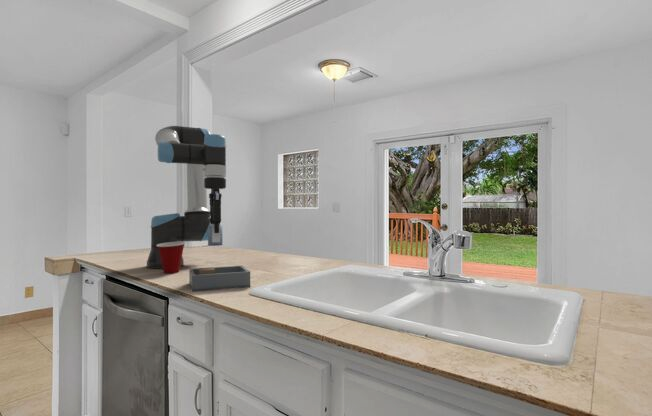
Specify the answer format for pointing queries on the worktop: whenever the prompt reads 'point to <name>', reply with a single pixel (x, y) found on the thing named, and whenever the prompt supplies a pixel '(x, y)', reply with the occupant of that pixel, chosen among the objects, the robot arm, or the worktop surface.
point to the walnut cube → (206, 270)
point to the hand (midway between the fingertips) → (215, 241)
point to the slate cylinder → (211, 237)
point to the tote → (220, 279)
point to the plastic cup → (171, 256)
